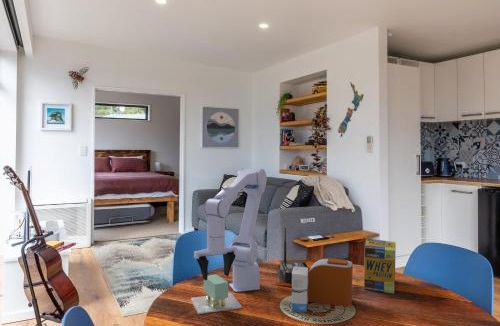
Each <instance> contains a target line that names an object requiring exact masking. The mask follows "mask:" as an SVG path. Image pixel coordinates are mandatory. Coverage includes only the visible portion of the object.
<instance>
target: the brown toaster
mask: <svg viewBox="0 0 500 326" xmlns="http://www.w3.org/2000/svg"><path fill="white" fill-rule="evenodd" d="M309 269H310V270H309V272H308V303H309V302H310V303H316V304H322V305H323V304H324V305H330V306H339V307H345V308H346V307H351V305H352V303H353V262H352V261H350V260H348V259H340V258H339V259H338V258H321V259H318V260H317V261H315V262H314V263H313V264H312V265H311V267H310V268H309Z"/></svg>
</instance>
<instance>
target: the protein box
mask: <svg viewBox="0 0 500 326" xmlns="http://www.w3.org/2000/svg"><path fill="white" fill-rule="evenodd" d="M363 259H364V265H363V267H364V271H363V273H364V274H363V289H364V290H366V291H372V292H373V291H374V292H381V293H386V294H395V283H396V241H391V240H383V239H382V240H381V239H372V238H367V241H366V243H365V247H364V258H363Z"/></svg>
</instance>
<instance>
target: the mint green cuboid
mask: <svg viewBox="0 0 500 326" xmlns="http://www.w3.org/2000/svg"><path fill="white" fill-rule="evenodd" d="M203 292H204V294H206V295H207V294H208V295H209V296H210V297H211V298H212V299H214V300H220V299H224V298H228V293H229V281H227V280H226V279H224V278H223V277H222V276H220V275H218V274H209V275H208V278H207V280H204V279H203Z"/></svg>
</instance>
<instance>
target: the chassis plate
mask: <svg viewBox="0 0 500 326" xmlns="http://www.w3.org/2000/svg"><path fill="white" fill-rule="evenodd" d="M190 301H191V302H192V305H193V307H194V309H195V311H196V313H197V314H198V315H203V314H210V313H211V314H212V313H216V312H217V313H218V312H223V311H231V310H232V311H233V310H238V309H242V308H243V305H241V303H240V302H239V301H238V299H237V298H236V297H235V296H234V295H233V294H232V293H231V292H228V298H225V306H221V299H220V300H216V307H212V298H211V297H210V299H207V295H203V296H196V297H195V296H194V297H190Z"/></svg>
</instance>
